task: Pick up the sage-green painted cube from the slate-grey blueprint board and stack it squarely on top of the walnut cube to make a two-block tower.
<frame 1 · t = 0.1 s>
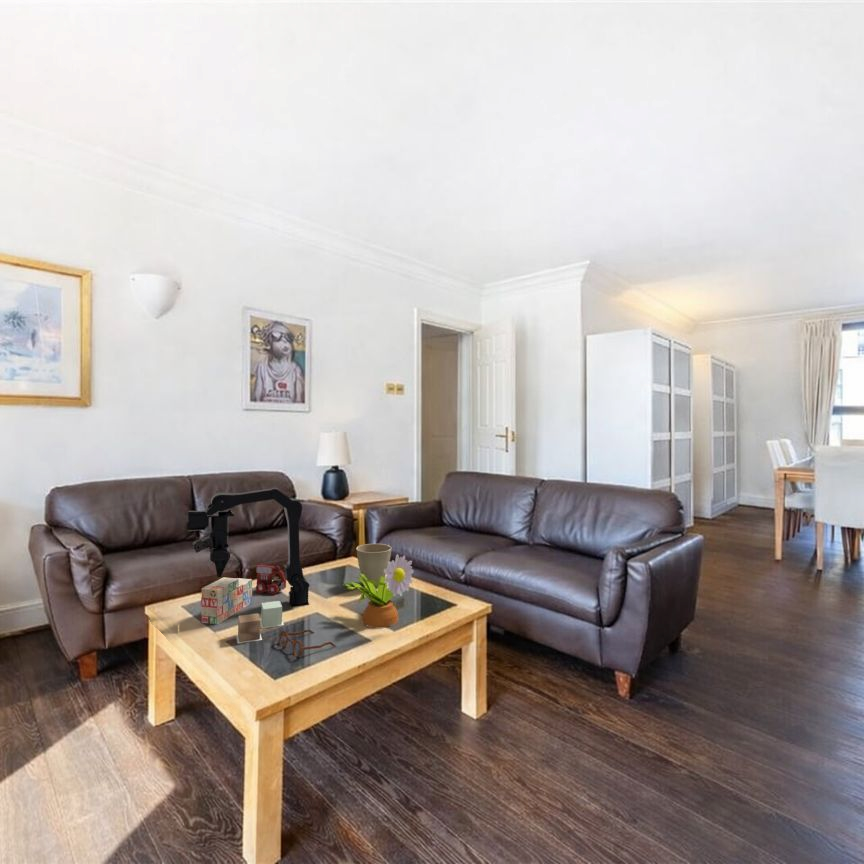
hand: (218, 573, 174), 15 cm above the table, fingers open, 9 cm apart
decorative plant: (380, 618, 175), on the table
glasses: (307, 647, 152), on the table
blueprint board: (257, 632, 160), on the table
walnut block: (248, 636, 156), resting on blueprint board
toy fire truck: (270, 591, 199), on the table
plant pot: (372, 585, 210), on the table
sage block: (271, 622, 167), resting on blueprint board
stack of blocks: (227, 614, 175), on the table
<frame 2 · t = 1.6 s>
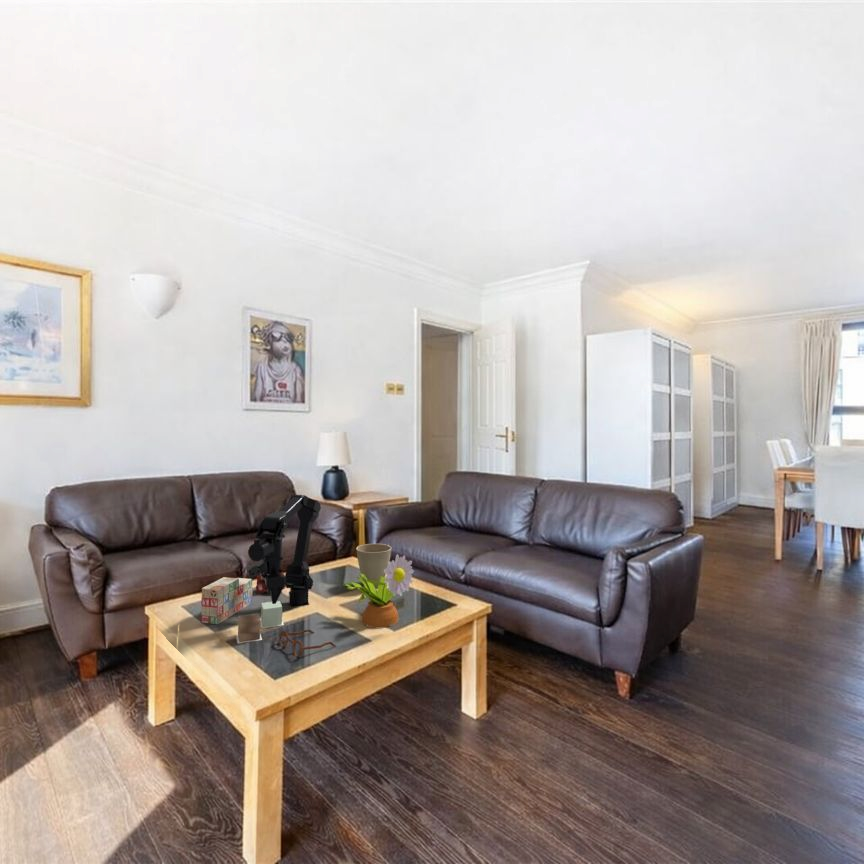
hand: (272, 599, 167), 8 cm above the table, fingers open, 9 cm apart
nothing on the table moved.
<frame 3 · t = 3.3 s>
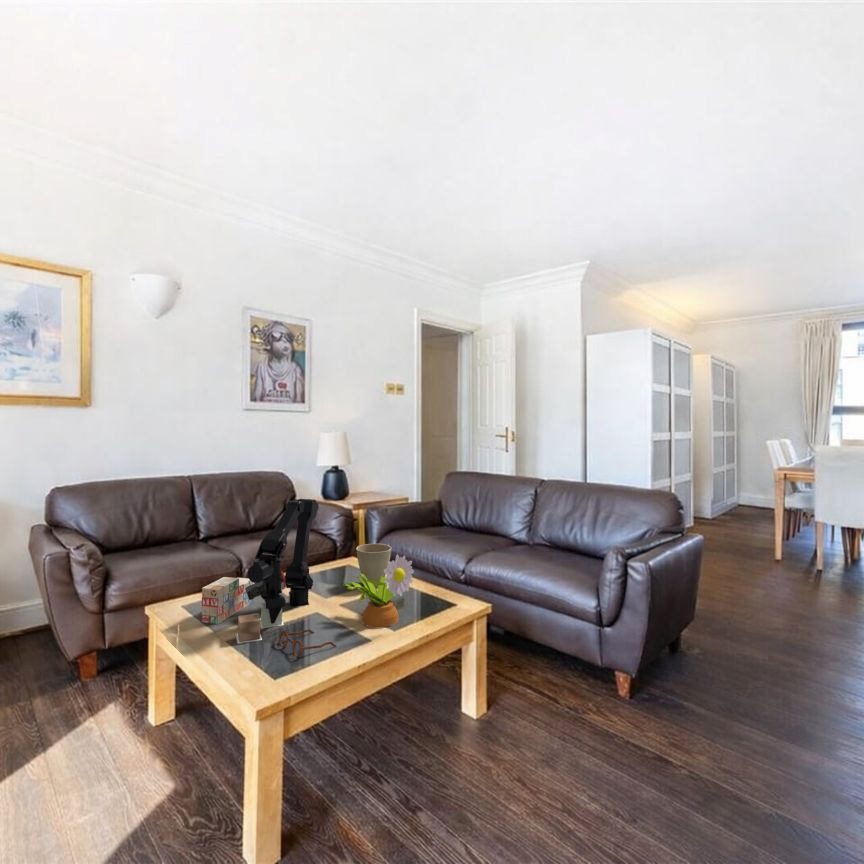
hand: (271, 619, 167), 1 cm above the table, fingers closed on sage block, 6 cm apart
sage block: (271, 622, 167), resting on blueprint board, touching gripper
everything else where it was.
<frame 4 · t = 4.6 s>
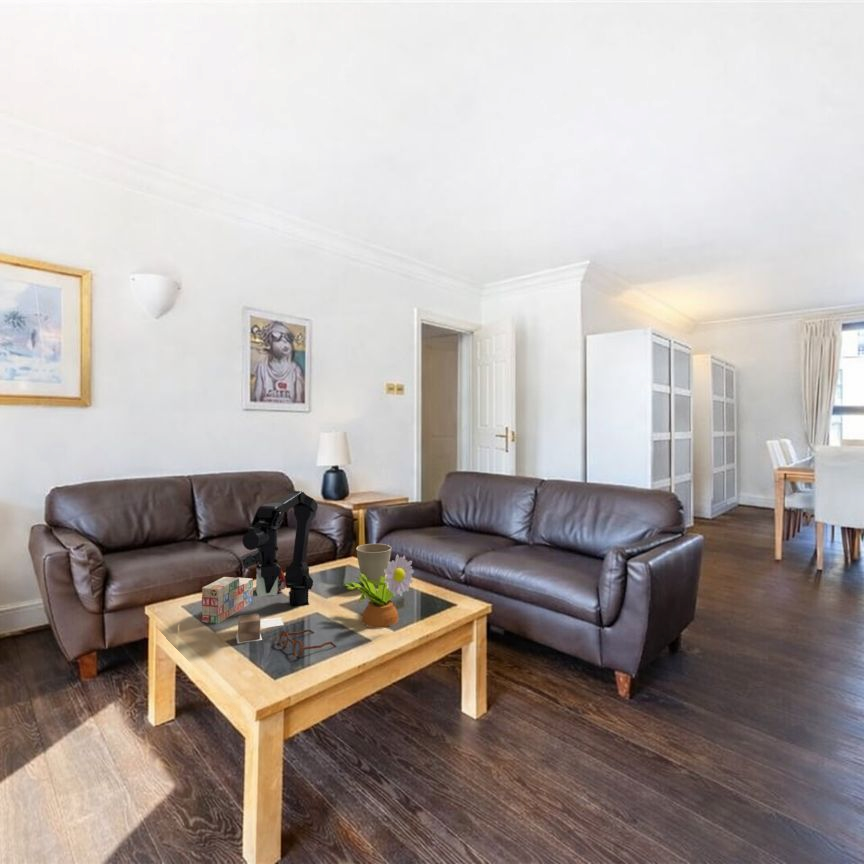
hand: (266, 590, 164), 12 cm above the table, fingers closed on sage block, 6 cm apart
sage block: (266, 592, 164), point 12 cm above the table, touching gripper
everything else where it was.
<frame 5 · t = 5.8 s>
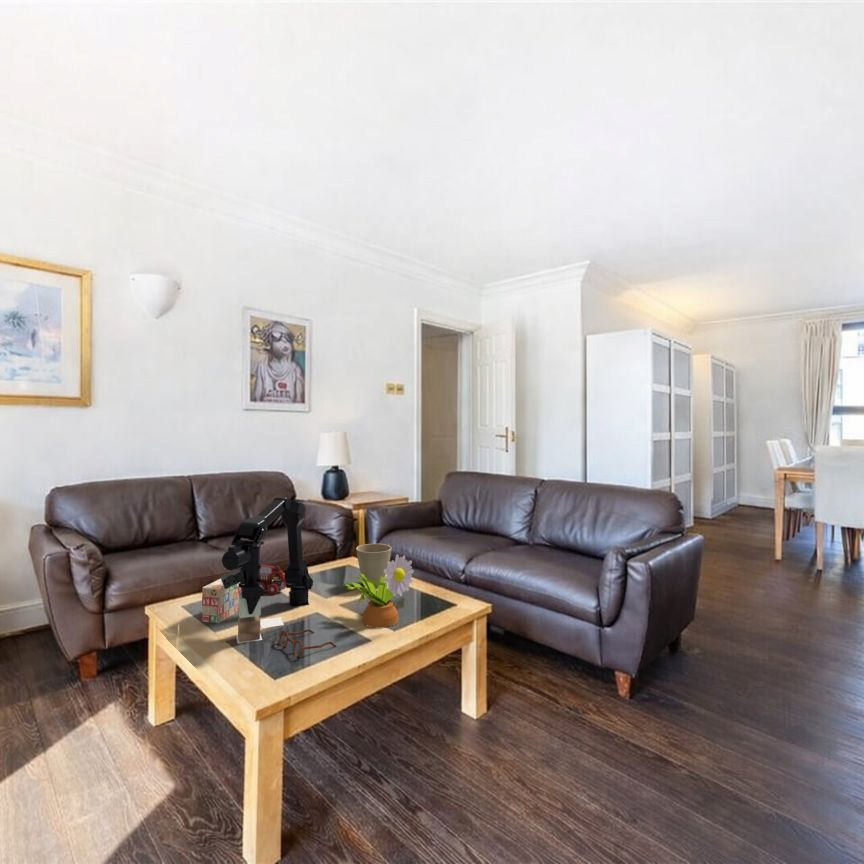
hand: (249, 610, 156), 9 cm above the table, fingers closed on sage block, 6 cm apart
sage block: (249, 613, 156), point 8 cm above the table, touching gripper
everything else where it was.
when the fingers open (9 cm above the table, at t = 6.4 s): sage block drops 1 cm, resting on walnut block.
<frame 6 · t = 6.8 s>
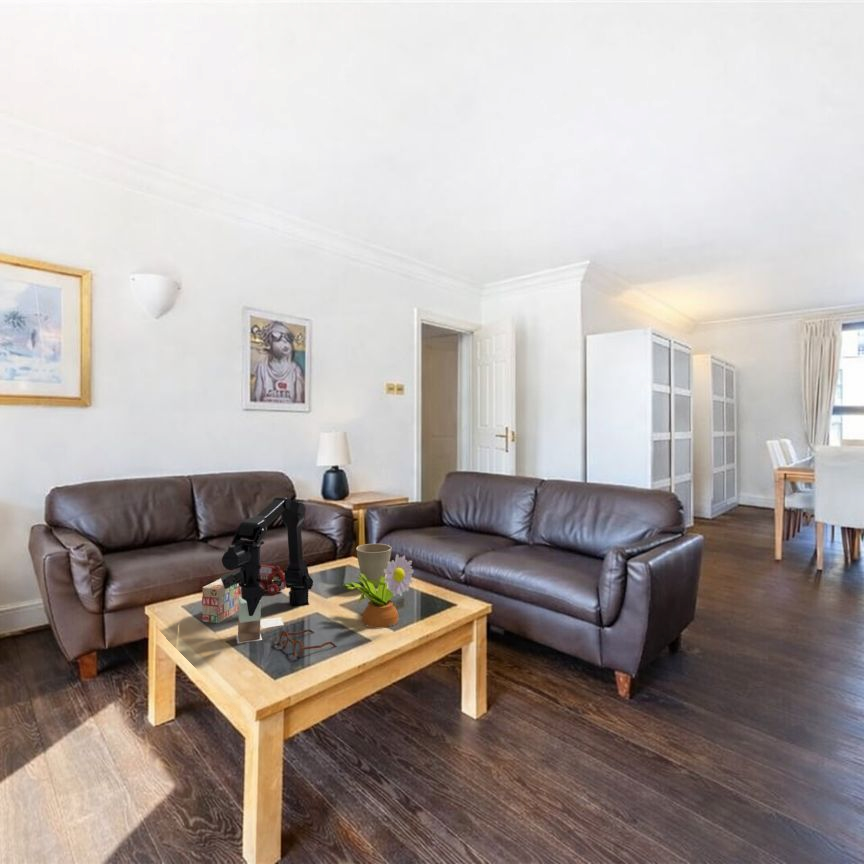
hand: (249, 610, 156), 9 cm above the table, fingers open, 9 cm apart
walnut block: (248, 636, 156), resting on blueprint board, touching sage block
sage block: (249, 617, 156), point 6 cm above the table, touching walnut block
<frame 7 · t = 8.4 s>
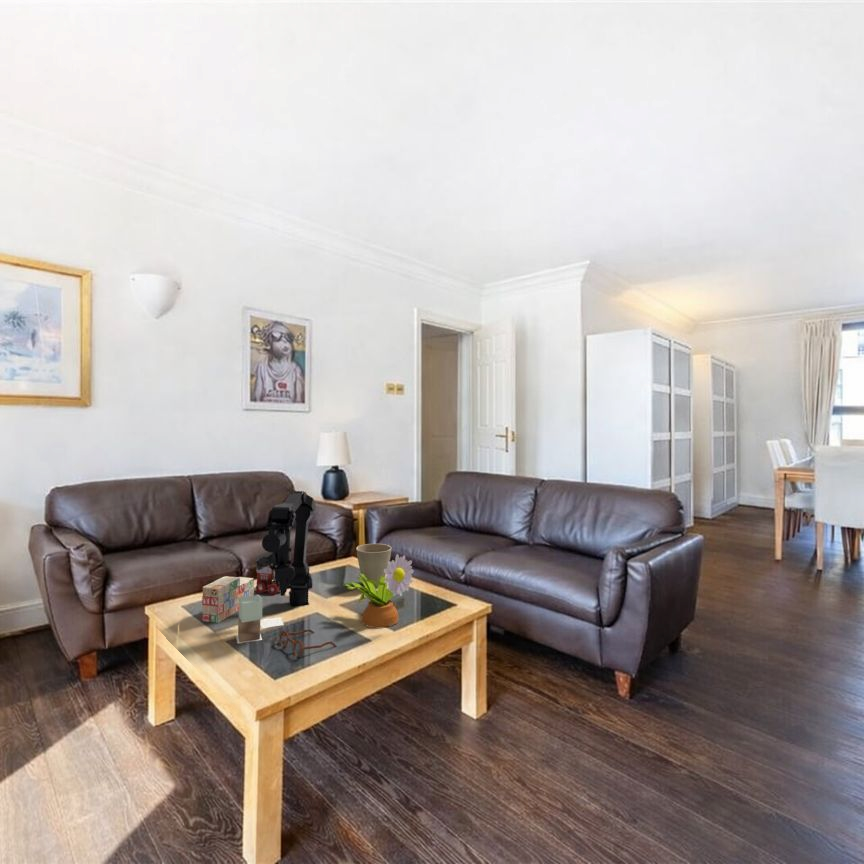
hand: (280, 591, 163), 12 cm above the table, fingers open, 9 cm apart
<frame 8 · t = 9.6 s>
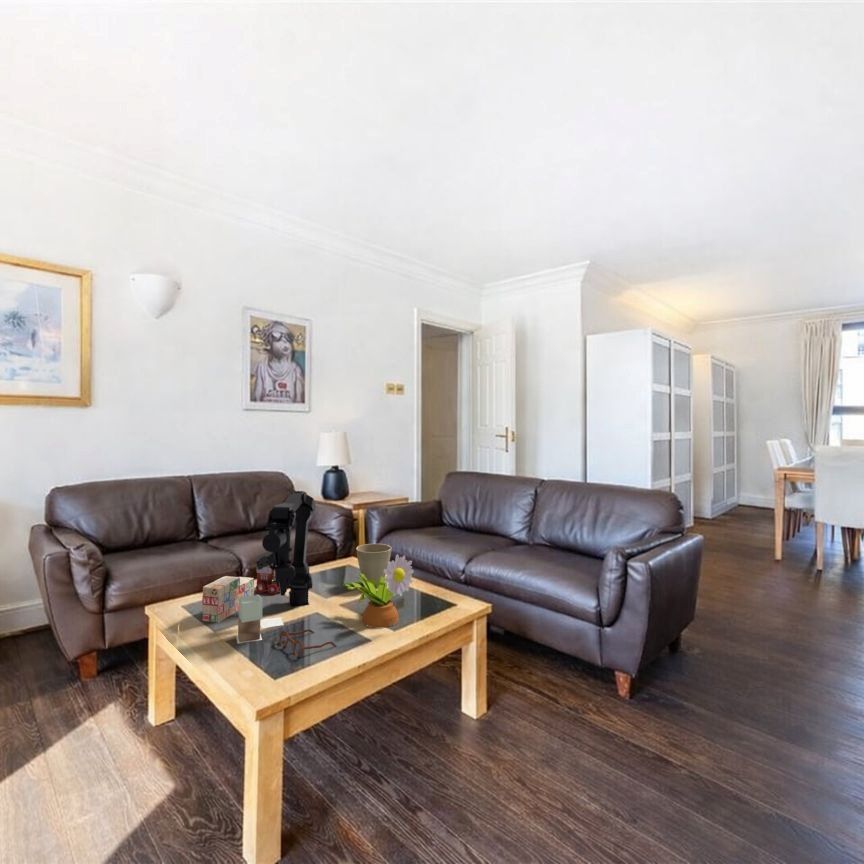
hand: (280, 590, 163), 13 cm above the table, fingers open, 9 cm apart
at the end: sage block 0.4 cm off-centre on the walnut block, point 6.0 cm above the walnut block's base; sage block tilted 0°; the gripper is holding nothing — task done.
